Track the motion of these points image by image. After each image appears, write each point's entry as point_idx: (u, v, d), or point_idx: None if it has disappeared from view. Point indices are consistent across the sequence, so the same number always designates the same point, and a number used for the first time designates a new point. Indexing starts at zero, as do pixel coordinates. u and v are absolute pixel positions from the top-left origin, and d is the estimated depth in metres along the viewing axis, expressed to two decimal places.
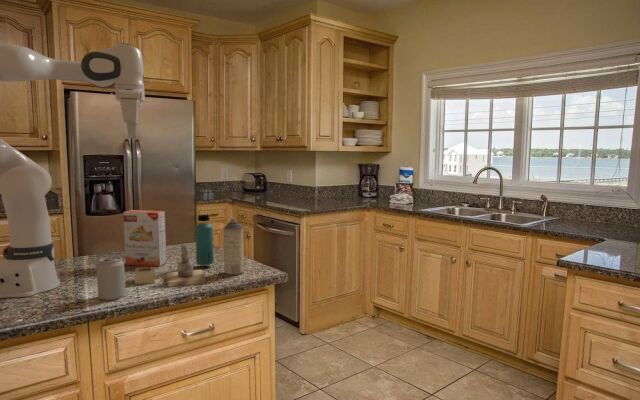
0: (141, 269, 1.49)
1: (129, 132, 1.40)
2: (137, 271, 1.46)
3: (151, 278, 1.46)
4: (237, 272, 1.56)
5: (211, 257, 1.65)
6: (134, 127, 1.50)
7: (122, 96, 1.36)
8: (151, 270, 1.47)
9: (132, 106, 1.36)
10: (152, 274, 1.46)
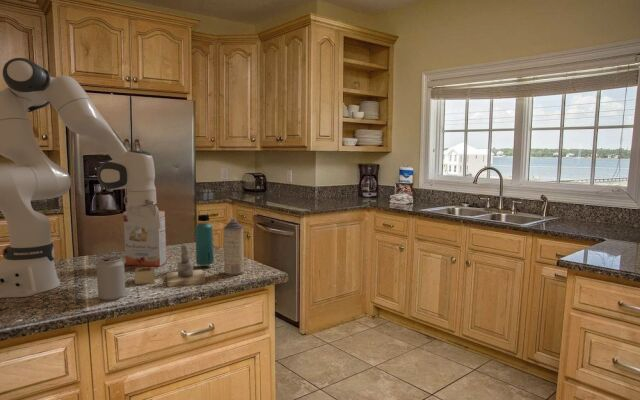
0: (141, 269, 1.49)
1: None
2: (137, 271, 1.46)
3: (151, 278, 1.46)
4: (237, 272, 1.56)
5: (211, 257, 1.65)
6: None
7: None
8: (151, 270, 1.47)
9: None
10: (152, 274, 1.46)
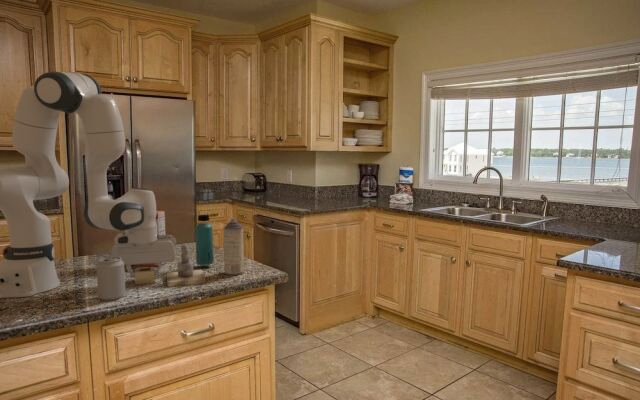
0: (141, 269, 1.49)
1: None
2: (137, 271, 1.46)
3: (151, 278, 1.46)
4: (237, 272, 1.56)
5: (211, 257, 1.65)
6: None
7: None
8: (151, 270, 1.47)
9: (111, 251, 1.43)
10: (152, 274, 1.46)
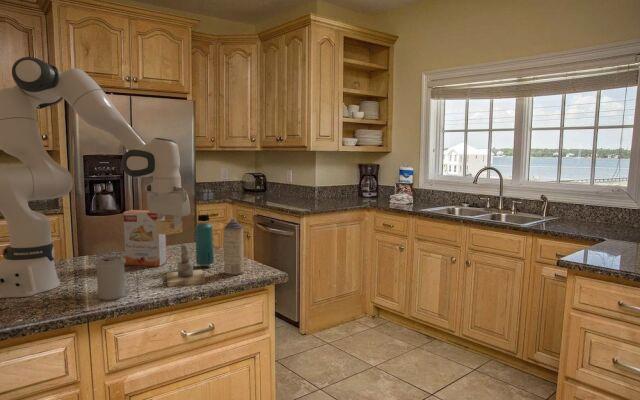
0: (172, 221, 1.50)
1: None
2: (161, 221, 1.48)
3: (165, 229, 1.44)
4: (237, 272, 1.56)
5: (211, 257, 1.65)
6: (174, 217, 1.45)
7: None
8: (168, 222, 1.45)
9: None
10: (165, 225, 1.44)
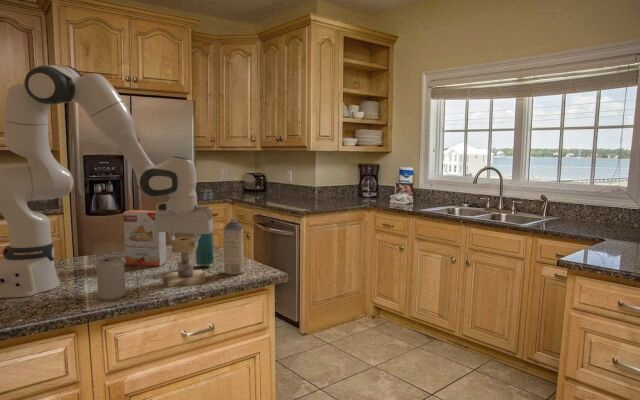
0: (184, 238, 1.50)
1: None
2: (176, 239, 1.47)
3: (186, 248, 1.45)
4: (237, 272, 1.56)
5: (211, 257, 1.65)
6: None
7: None
8: (187, 240, 1.46)
9: None
10: (187, 244, 1.45)
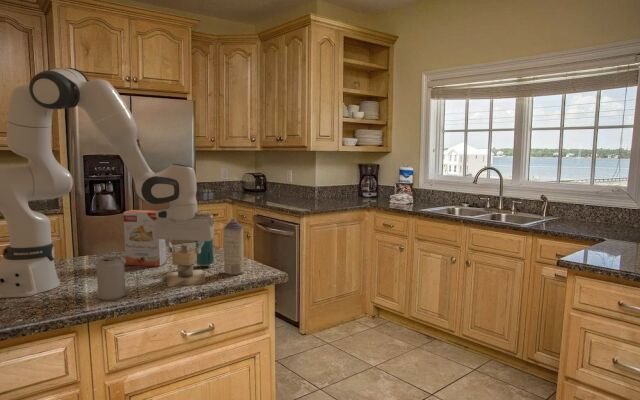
0: None
1: None
2: (176, 252, 1.47)
3: (186, 260, 1.46)
4: (237, 272, 1.56)
5: (211, 257, 1.65)
6: (198, 242, 1.47)
7: None
8: (188, 252, 1.47)
9: None
10: (187, 256, 1.46)
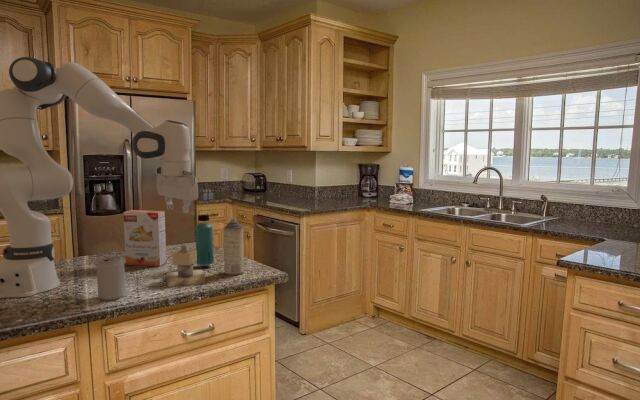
0: None
1: None
2: (176, 252, 1.47)
3: (186, 260, 1.46)
4: (237, 272, 1.56)
5: (211, 257, 1.65)
6: None
7: None
8: (188, 252, 1.47)
9: None
10: (187, 256, 1.46)
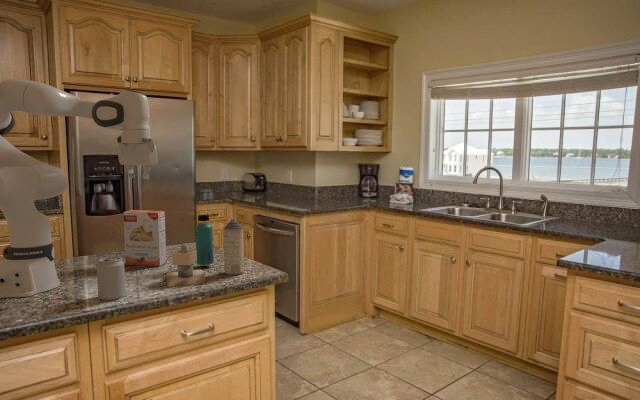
0: None
1: None
2: (176, 252, 1.47)
3: (186, 260, 1.46)
4: (237, 272, 1.56)
5: (211, 257, 1.65)
6: (144, 168, 1.48)
7: None
8: (188, 252, 1.47)
9: None
10: (187, 256, 1.46)
